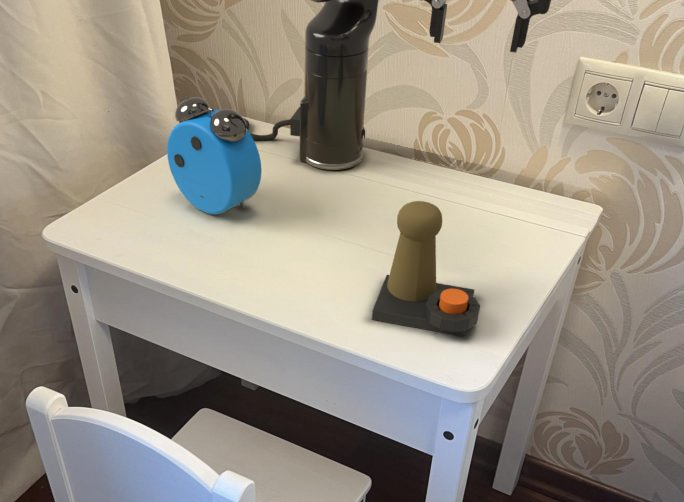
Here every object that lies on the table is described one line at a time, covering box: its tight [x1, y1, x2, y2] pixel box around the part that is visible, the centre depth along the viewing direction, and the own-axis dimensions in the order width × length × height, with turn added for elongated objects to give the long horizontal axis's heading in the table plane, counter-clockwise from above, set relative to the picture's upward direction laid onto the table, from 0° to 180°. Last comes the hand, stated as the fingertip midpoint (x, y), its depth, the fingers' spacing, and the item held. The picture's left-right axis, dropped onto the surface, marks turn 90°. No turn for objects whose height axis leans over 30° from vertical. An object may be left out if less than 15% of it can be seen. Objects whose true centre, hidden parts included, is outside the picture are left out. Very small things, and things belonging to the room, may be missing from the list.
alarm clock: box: [166, 95, 262, 215], centre depth 114 cm, size 13×6×15 cm, turn 49°
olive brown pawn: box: [387, 200, 443, 302], centre depth 98 cm, size 6×6×11 cm
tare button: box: [439, 289, 468, 315], centre depth 96 cm, size 3×3×2 cm
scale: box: [371, 274, 481, 337], centre depth 99 cm, size 12×9×3 cm
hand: (475, 45), depth 93 cm, fingers open, 8 cm apart
